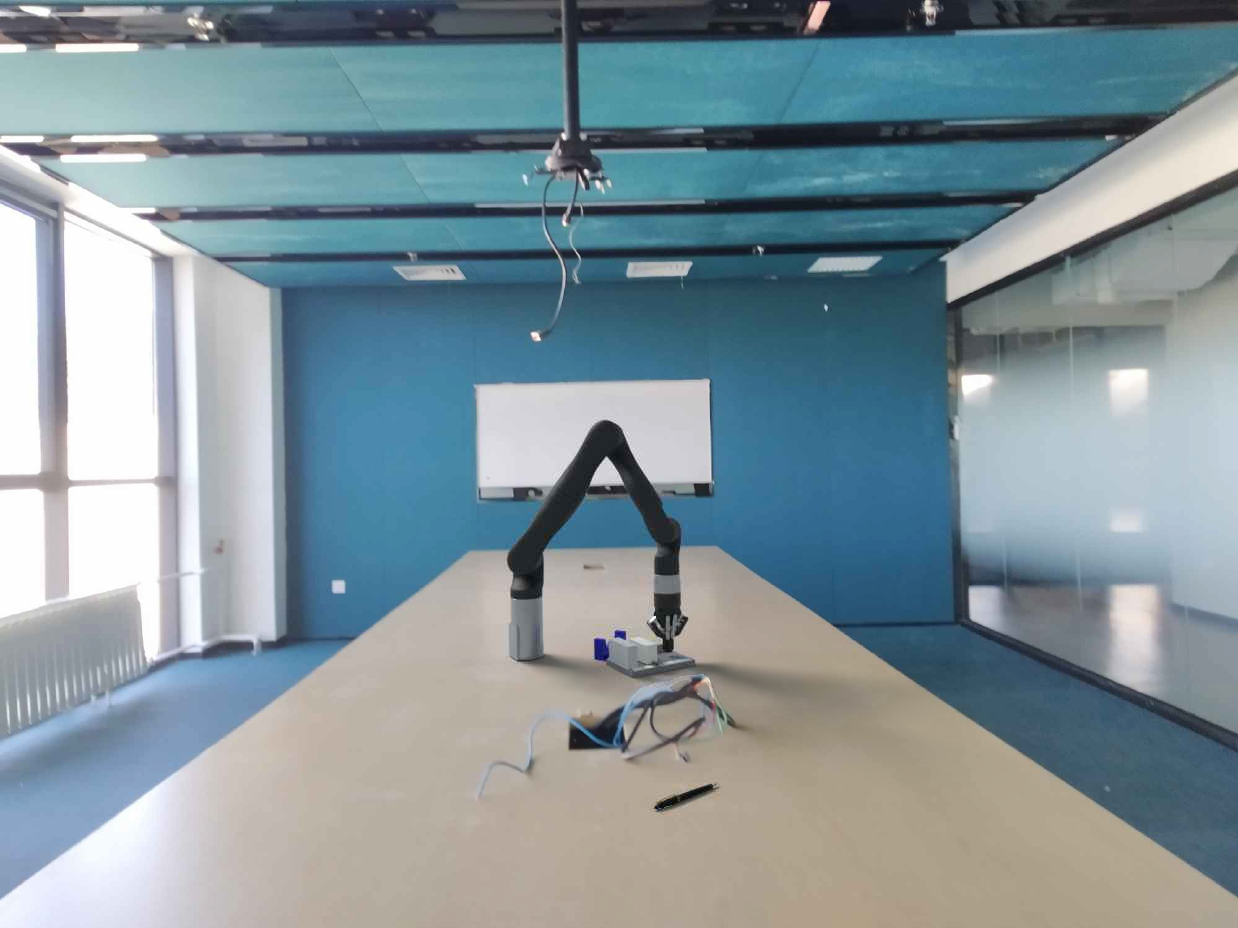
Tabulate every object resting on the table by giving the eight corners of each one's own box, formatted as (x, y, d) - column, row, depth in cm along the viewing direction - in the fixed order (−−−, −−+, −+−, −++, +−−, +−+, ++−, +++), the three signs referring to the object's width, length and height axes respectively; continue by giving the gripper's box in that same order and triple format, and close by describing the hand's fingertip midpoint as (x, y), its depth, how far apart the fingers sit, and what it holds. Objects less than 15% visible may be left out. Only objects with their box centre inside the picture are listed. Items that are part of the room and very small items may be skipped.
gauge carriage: (651, 666, 186) (651, 647, 186) (629, 656, 196) (629, 638, 196) (664, 664, 188) (664, 645, 188) (641, 654, 198) (641, 636, 198)
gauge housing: (631, 677, 183) (631, 648, 183) (606, 664, 195) (605, 637, 195) (695, 665, 193) (694, 637, 193) (666, 653, 205) (666, 627, 205)
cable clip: (613, 649, 211) (613, 629, 211) (626, 651, 209) (626, 631, 209) (590, 659, 202) (589, 638, 201) (603, 661, 199) (602, 640, 199)
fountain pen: (716, 785, 123) (716, 776, 123) (721, 787, 122) (721, 779, 122) (651, 810, 115) (651, 801, 115) (655, 813, 114) (655, 804, 114)
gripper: (679, 585, 204) (680, 645, 204) (639, 590, 197) (641, 652, 197) (694, 589, 197) (695, 651, 197) (654, 594, 191) (655, 658, 191)
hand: (668, 651), depth 197 cm, fingers closed
